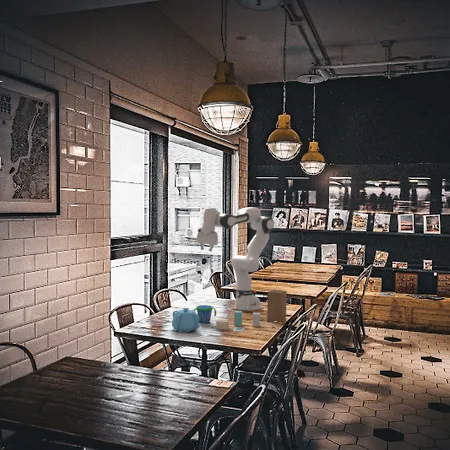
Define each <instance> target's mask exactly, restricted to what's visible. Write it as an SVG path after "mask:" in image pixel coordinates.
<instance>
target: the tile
mask: <svg viewBox="0 0 450 450" xmlns="http://www.w3.org/2000/svg"><path fill="white" fill-rule="evenodd" d="M244 330H245V327H238V326H234V327H233V330H232V332H234V333H235V332H236V333H237V332H240V333H244Z"/></svg>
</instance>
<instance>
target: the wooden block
mask: <svg viewBox="0 0 450 450" xmlns="http://www.w3.org/2000/svg"><path fill="white" fill-rule="evenodd" d="M287 295H288V291H287V290H282V289H272V290H269V291H267V304H266V305H267V307H266V322H269V321H277V322H282V321H284V320H285V321H286V320H287V301H288V300H287V299H288V298H287V297H288V296H287ZM285 321H284V322H285ZM282 323H283V322H282Z"/></svg>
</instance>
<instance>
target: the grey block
mask: <svg viewBox="0 0 450 450" xmlns="http://www.w3.org/2000/svg"><path fill="white" fill-rule="evenodd" d="M260 325H261V313H260V312H253V313H252V326H260Z"/></svg>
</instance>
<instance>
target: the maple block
mask: <svg viewBox="0 0 450 450" xmlns="http://www.w3.org/2000/svg"><path fill="white" fill-rule="evenodd" d="M229 321H230V320H229V319H228V318H216V322H215V329H216V330H228V329H229Z"/></svg>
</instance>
